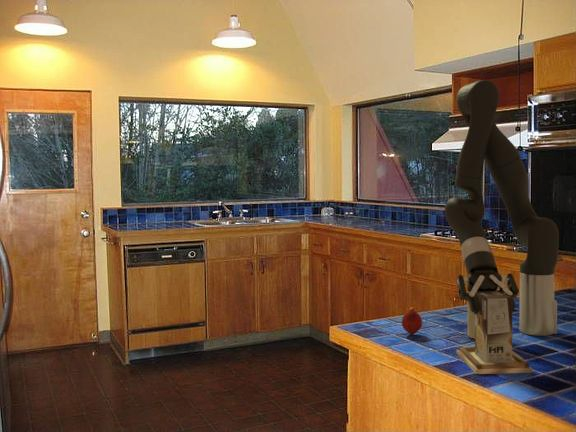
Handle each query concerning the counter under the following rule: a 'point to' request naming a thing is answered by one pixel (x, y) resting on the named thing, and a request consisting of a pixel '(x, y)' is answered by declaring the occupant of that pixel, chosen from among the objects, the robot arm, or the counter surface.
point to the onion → (411, 321)
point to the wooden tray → (492, 368)
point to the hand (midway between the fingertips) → (494, 311)
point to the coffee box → (493, 327)
